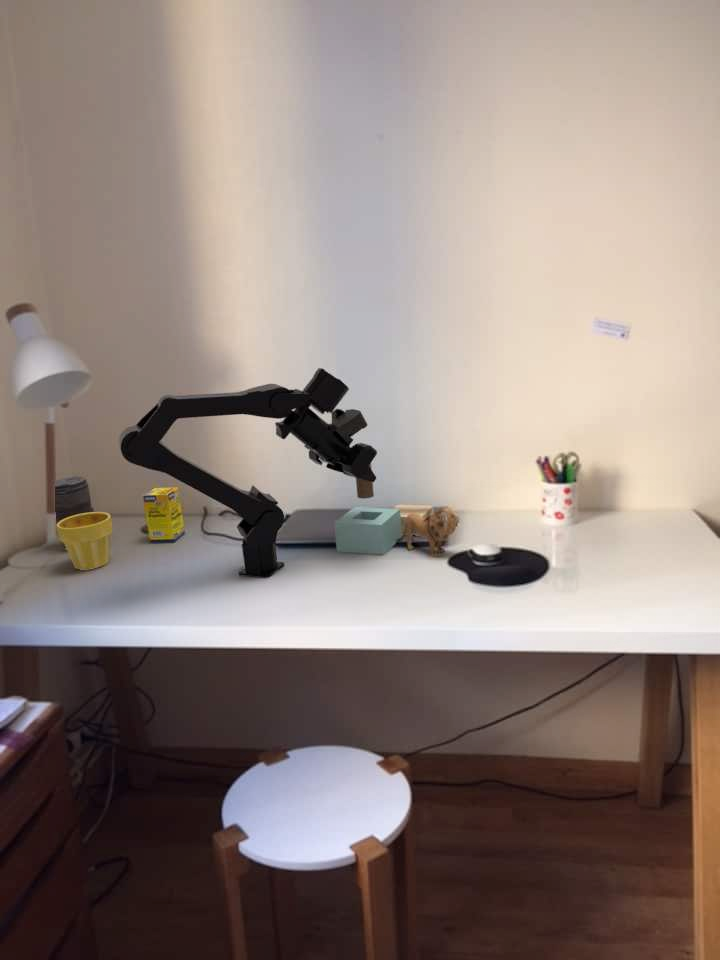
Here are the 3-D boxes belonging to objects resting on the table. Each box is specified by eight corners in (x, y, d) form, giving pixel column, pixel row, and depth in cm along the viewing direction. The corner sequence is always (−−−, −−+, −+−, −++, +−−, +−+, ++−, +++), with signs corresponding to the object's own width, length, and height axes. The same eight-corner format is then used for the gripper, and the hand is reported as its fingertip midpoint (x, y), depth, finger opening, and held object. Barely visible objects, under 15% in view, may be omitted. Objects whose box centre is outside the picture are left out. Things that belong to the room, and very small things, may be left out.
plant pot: (106, 572, 146) (97, 525, 143) (56, 576, 147) (46, 529, 144) (126, 554, 156) (118, 509, 153) (78, 557, 157) (70, 513, 154)
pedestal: (422, 536, 150) (421, 517, 149) (385, 534, 153) (384, 516, 152) (434, 523, 157) (433, 505, 156) (399, 522, 160) (398, 504, 159)
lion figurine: (465, 551, 139) (463, 506, 137) (449, 561, 135) (446, 514, 133) (404, 539, 149) (401, 496, 147) (387, 547, 145) (384, 504, 143)
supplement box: (175, 542, 160) (167, 494, 158) (149, 543, 162) (141, 495, 159) (186, 533, 166) (178, 486, 163) (161, 534, 167) (153, 487, 164)
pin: (369, 498, 144) (366, 458, 142) (354, 498, 145) (351, 458, 143) (376, 494, 146) (372, 454, 144) (361, 493, 148) (358, 454, 146)
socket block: (383, 554, 142) (381, 524, 140) (336, 551, 146) (333, 522, 144) (402, 537, 150) (399, 508, 149) (357, 534, 154) (354, 507, 153)
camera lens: (64, 543, 167) (51, 479, 164) (101, 537, 169) (89, 474, 165) (57, 554, 160) (43, 488, 156) (96, 549, 161) (83, 482, 157)
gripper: (363, 402, 131) (419, 452, 139) (316, 393, 147) (369, 439, 155) (327, 453, 129) (386, 501, 137) (284, 439, 145) (339, 482, 153)
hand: (370, 478), depth 145 cm, fingers closed on pin, 3 cm apart
